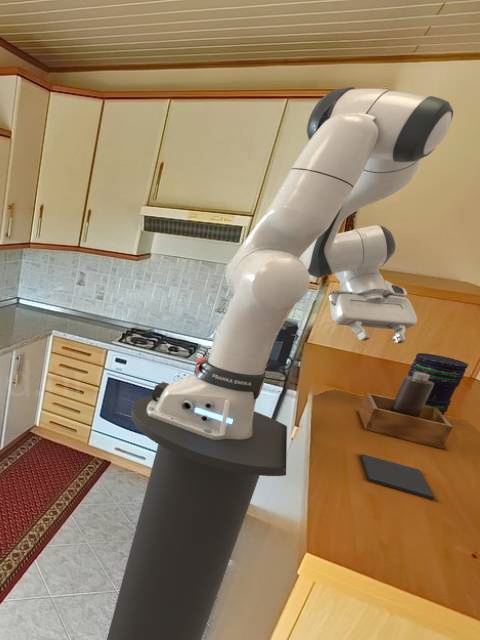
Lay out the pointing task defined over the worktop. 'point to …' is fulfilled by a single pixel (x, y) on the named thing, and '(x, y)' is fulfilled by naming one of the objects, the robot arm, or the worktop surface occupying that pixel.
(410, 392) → the pepper mill
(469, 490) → the worktop surface
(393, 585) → the worktop surface
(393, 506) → the worktop surface
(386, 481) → the counter mat
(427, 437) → the brown wooden open box
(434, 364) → the storage jar
